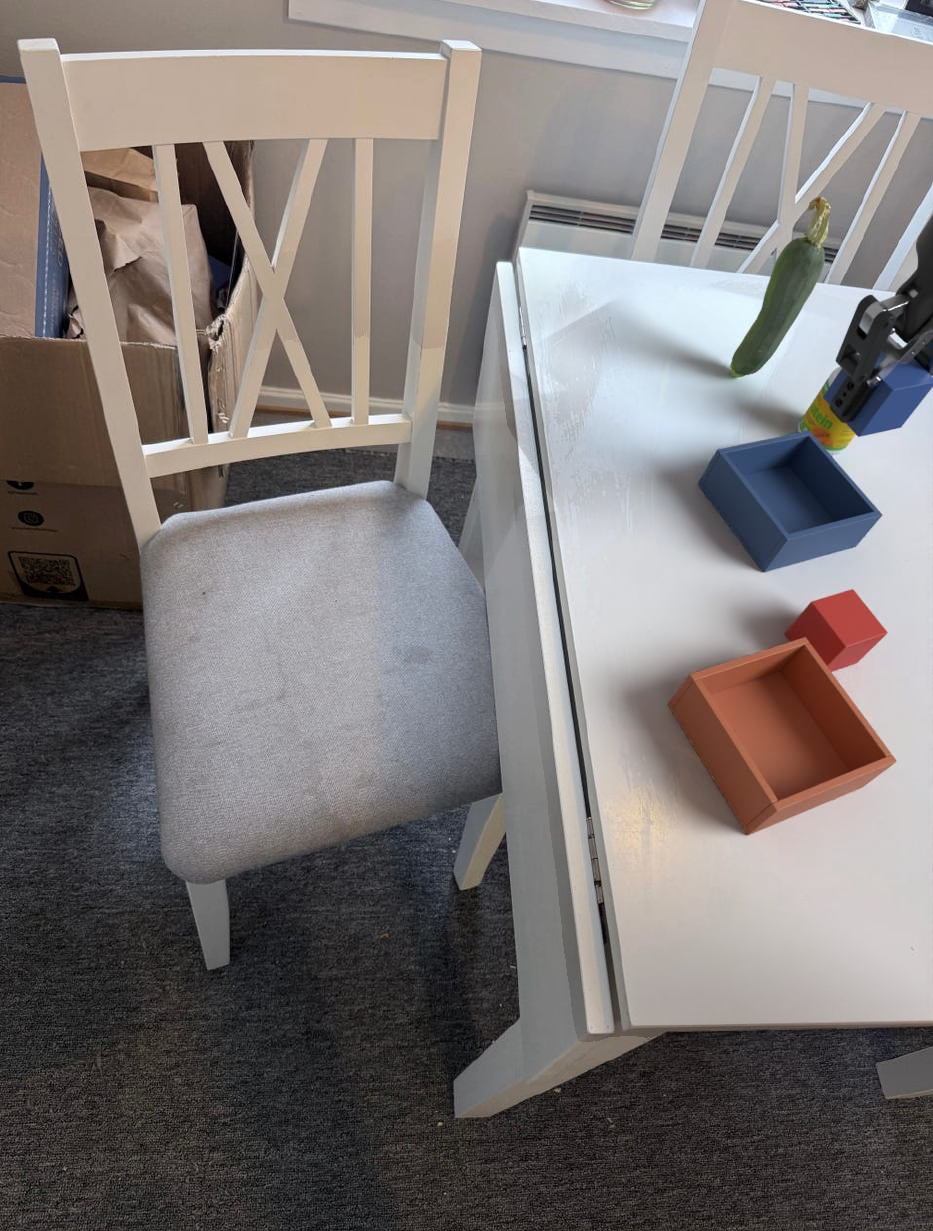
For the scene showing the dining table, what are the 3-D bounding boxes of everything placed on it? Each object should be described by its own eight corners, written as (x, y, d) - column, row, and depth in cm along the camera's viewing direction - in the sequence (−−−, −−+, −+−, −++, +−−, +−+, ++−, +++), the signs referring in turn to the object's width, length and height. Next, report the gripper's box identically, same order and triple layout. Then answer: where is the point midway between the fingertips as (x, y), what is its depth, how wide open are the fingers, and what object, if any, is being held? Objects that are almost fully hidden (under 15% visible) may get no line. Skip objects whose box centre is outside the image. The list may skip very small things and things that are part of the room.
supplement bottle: (786, 423, 88) (834, 346, 80) (825, 416, 90) (875, 340, 82) (816, 459, 85) (869, 383, 78) (855, 451, 87) (911, 376, 80)
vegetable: (764, 384, 92) (866, 207, 76) (744, 399, 89) (844, 221, 73) (732, 362, 93) (824, 184, 77) (711, 376, 91) (802, 196, 75)
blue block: (901, 428, 66) (937, 381, 62) (858, 437, 64) (892, 390, 61) (864, 389, 68) (897, 342, 64) (822, 397, 66) (853, 349, 63)
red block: (857, 663, 71) (888, 632, 67) (816, 677, 69) (845, 647, 65) (824, 620, 73) (853, 588, 69) (784, 633, 71) (811, 601, 68)
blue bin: (856, 547, 79) (883, 514, 75) (763, 572, 75) (787, 540, 71) (787, 463, 84) (809, 430, 81) (697, 483, 80) (716, 449, 77)
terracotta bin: (863, 787, 64) (897, 761, 60) (747, 835, 60) (777, 811, 56) (778, 666, 69) (805, 636, 65) (667, 704, 65) (689, 673, 61)
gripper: (977, 244, 48) (824, 459, 62) (1132, 226, 53) (958, 428, 67) (894, 173, 52) (766, 391, 65) (1046, 163, 57) (898, 367, 70)
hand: (864, 409), depth 66 cm, fingers closed on blue block, 4 cm apart
